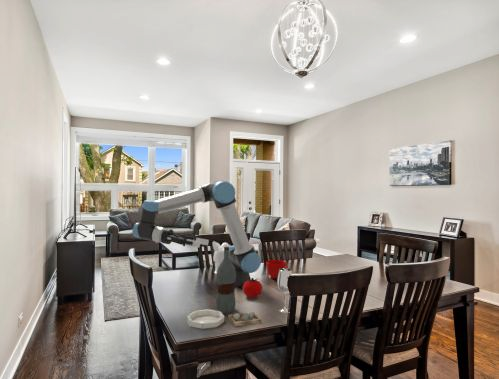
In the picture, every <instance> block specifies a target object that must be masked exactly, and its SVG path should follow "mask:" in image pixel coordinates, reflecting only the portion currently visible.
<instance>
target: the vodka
mask: <svg viewBox="0 0 499 379" xmlns="http://www.w3.org/2000/svg"><path fill="white" fill-rule="evenodd" d="M229 249H230V246H229V247H224V259H223V261H222V262H221V264H220V265H219V267H218V270H217V274H216V282H217V283H216V285H217V287H216V288H217V293H216V301H215V304H216V311H220V312H221V313H222V314H224V313H225V314H226V313H227V314H228V313H232V312H234V311H235V310H236V296H235V289H236V287H235V280H236V272H235V267H234V266H233V264H232V262H231V261H230V259H229Z"/></svg>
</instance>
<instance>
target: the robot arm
mask: <svg viewBox="0 0 499 379" xmlns="http://www.w3.org/2000/svg"><path fill="white" fill-rule="evenodd" d="M208 202H213V203H214V205H215V208H216V209H217V210H219V211H220V214H221V216H222V219H223V221H224V224H225V226H226V229H227V232H228V234H229V237H230V239H231V241H232V244H233V245H230V246H229V259H230V261H231V262H232V264H233V266H234V267H235V272H236V280H235V288H236V287H238V288H239V287H241V288H243V285H244V283H245V282H246V281H248V279H250V280H251V278H252V277H251V275H250V274H252V273H255V272H257V271H258V270H259V269H260V268H261V263H262V259H261V256H260V255H259V253H257V252H256V249H255V247H254V244H252V243H250V242H249V239H248V235H247V233H246V230H245V229H244V225H243V223H242V220H241V217H240V214H239V212H238V209H237V206H236V203H237V199H236V188H235V187H234V185H233V183H231V182H229V181H226V180H214V181H211V182H209V183H207V184H203V185H200V186H198V187H197V188H196V189H193V190H190V191H186V192H185V191H184V192H181V193H178V194H175V195H171V196H167V197H163V198H159V199H156V200H154V201H153V200H148V199H147V200H146V199H145V200H144V201H143V203H141V204H140V205H139V206H138V207H139V208H138V214H139V215H140V218H139V221H138V222H136V223H134V225H133V228H132V231H131V232H132V235H133V237H134V238H137V239H140V240H145V241H151V242H155V244H158V243H160V244H161V243H162V244H165V245H170V244H172V243H175V244H178V245H180V246H182V247H186V246H190V247H194V248H198V249H199V248H200V246H201V245H202V246H209V241H210V239H206V238H201V237H198V236H197V235H196V236H191V235H184V234H180V233H174V232H175V231H174V229H172V228H167V227H163V226H157V225H156V220H157V215H160V214H164V213H166V212H169V211H173V210H178V209H180V208H185V207H187V206H191V205H195V204H199V203H202V204H203V203H208Z"/></svg>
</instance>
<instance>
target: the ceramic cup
mask: <svg viewBox="0 0 499 379" xmlns="http://www.w3.org/2000/svg"><path fill="white" fill-rule="evenodd" d="M265 263H266V266H265V267H266V272H267V274H268V275H269V278H271V279H274V280H277V279H278V274H279V270H280V269H281V268H289V266H287V261H285V260H281V259H271V260H270V259H269V260H266V262H265Z"/></svg>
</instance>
